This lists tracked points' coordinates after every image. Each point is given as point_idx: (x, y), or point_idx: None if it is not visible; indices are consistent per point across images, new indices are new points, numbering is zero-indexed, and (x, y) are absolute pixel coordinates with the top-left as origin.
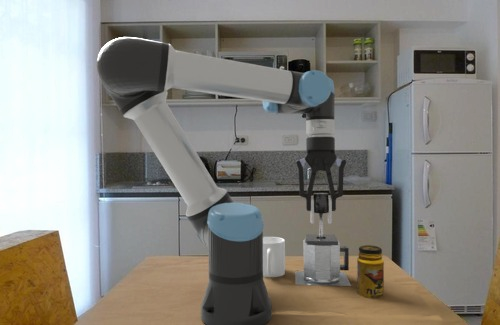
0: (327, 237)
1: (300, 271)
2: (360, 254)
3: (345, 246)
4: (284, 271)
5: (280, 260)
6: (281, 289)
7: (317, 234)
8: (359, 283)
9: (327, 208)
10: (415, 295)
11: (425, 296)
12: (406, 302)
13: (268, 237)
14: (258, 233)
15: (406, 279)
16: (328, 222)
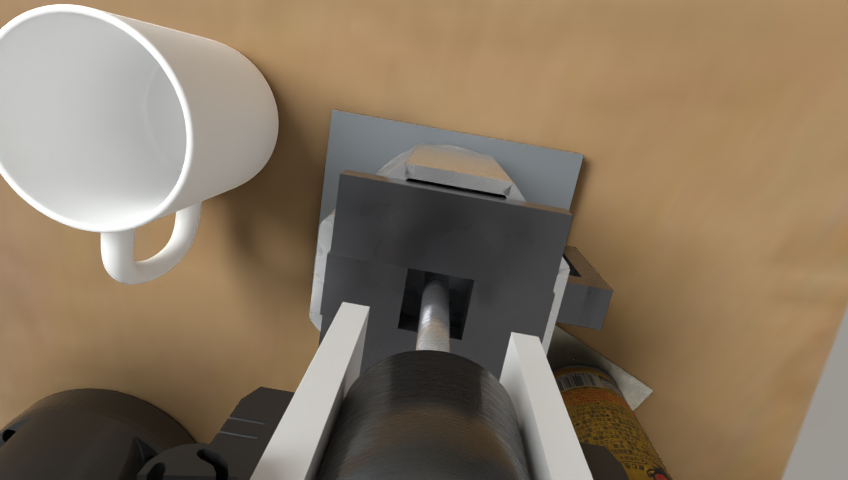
0: (485, 302)
1: (358, 119)
2: None
3: (600, 288)
4: (269, 150)
5: (218, 192)
6: (255, 300)
7: (436, 194)
8: None
9: None
10: (747, 409)
11: (777, 421)
12: (672, 457)
13: (64, 12)
14: None
15: (842, 244)
16: (501, 380)
